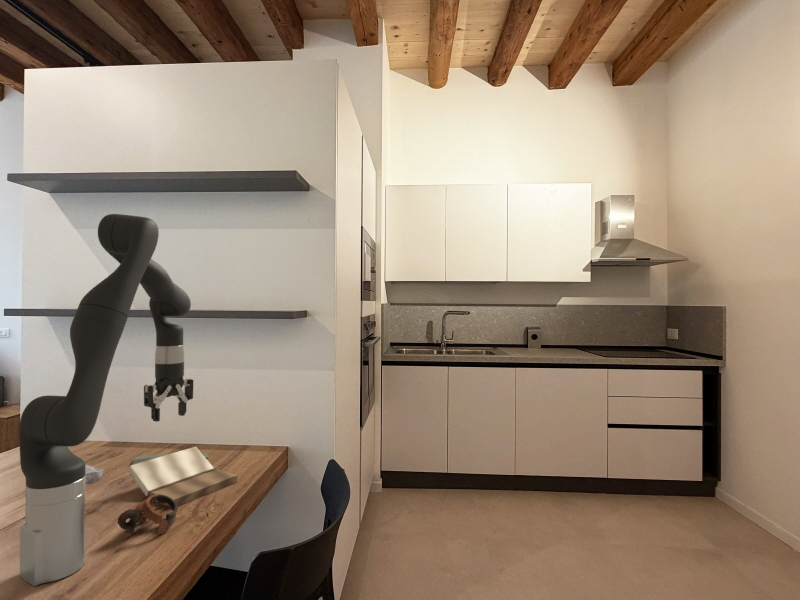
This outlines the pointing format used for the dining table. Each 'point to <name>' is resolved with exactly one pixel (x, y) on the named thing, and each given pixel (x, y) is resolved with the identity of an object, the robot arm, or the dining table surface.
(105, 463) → the dining table surface
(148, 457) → the stone slab
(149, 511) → the brown ringed bracket
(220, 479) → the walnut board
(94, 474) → the stone block
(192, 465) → the ash plank
